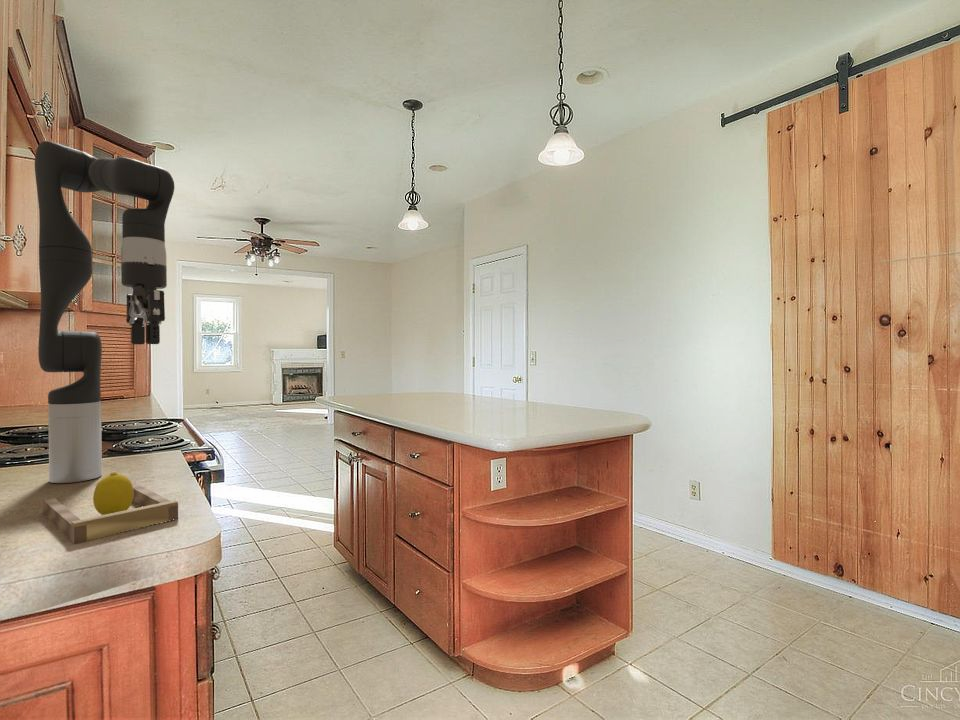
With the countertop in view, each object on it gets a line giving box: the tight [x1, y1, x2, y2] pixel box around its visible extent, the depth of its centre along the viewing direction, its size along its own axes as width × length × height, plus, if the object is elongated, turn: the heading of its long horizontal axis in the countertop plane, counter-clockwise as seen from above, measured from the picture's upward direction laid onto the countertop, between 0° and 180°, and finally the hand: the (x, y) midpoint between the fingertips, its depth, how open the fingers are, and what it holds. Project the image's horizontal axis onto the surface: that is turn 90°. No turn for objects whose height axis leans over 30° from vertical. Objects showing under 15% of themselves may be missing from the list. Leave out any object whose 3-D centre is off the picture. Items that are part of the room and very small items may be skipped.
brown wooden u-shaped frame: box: [41, 483, 179, 544], centre depth 86 cm, size 22×14×3 cm, turn 51°
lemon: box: [92, 471, 134, 515], centre depth 84 cm, size 6×6×8 cm
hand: (145, 344), depth 100 cm, fingers open, 8 cm apart
